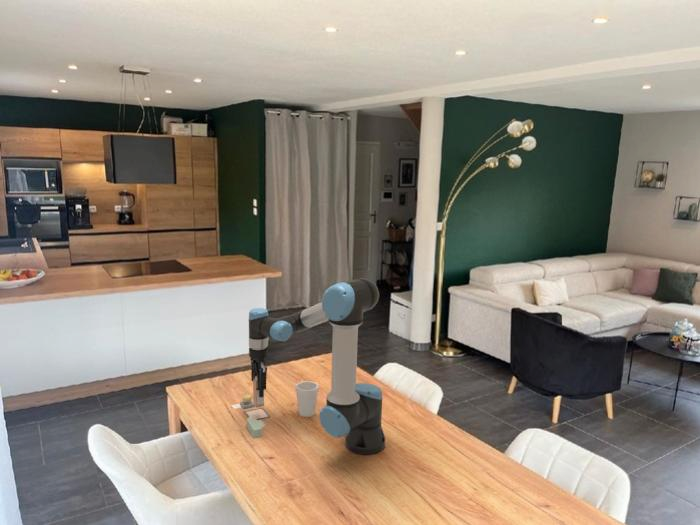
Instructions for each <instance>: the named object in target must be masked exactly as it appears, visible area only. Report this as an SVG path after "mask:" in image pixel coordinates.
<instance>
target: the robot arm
mask: <svg viewBox="0 0 700 525" xmlns="http://www.w3.org/2000/svg"><path fill="white" fill-rule="evenodd" d="M379 298H380V291H379V289H378V286H377V284H376V283H375V282H374V281H372V280H370V279H368V278H366V277H365V278H363V277H362V278H361V277H360V278H355V279H352V280H347V281H344V282H337V283H335V284H333V285H331V286H329V287H328V288H327V289H326V290H325V292H324V293H323V296H322V299H321V302H318V303H316V304H314V305H311V306H310V307H307V308H305V309H303V310H300V311H298V312H295V313H293V314H289V315H286V316H281V317H278V318H275V317H271V316H269V315H270V314H269V310H267V308H263V307H257V308H256V307H255V308H252V309H250V310H249V313H248V320H247V321H248V356H249V358H250V359H249V360H250V367H251V369H250V371H251V372H250V374H251V377H250V378H251V382H253V379H255V376H257V383H258V388H256V390H257V405H259V404H264V405H265V403H264V401H265V390H267V373H268V367H267V366H265V365H266V361H265V359H266V358H268V356H269V347H268V346H269V340H270V339H272V340H275V341H280V342H287V341H288V340H289V339H290V338H291V336H292V335H294V334H296V333H300V332H303V331H306V330H309V329H311V328H313V327H315V326H318V325H320V324H323V323H326V322H328V323H329V324H330V325H331V326H332V340H331V341H332V342H331V343H332V345H331V347H332V348H331V380H330V381H331V383H330V384H331V385H330V386H331V387H330V391H329V392H328V393H327V394H326V400H325V401H326V405H325V406H323V407H321V409H320V411H319V414H318V415H319V421H320V422H319V423H320V425H321V427H322V428H323V429H324V432H326V433H327V434H328V435H330V436H331V437H333V438H338V439H339V438H342V437H344V436H345V437H344V444H345V447H346V449H348V450H349V451H350V452H352V453H355V454H358V455H366V456H367V455H375V454H377V453H378V454H379V453H380V452H382V451H383V450H384V449H385V447H386V437H385V433H384V430H383V427H382V417H383V416H382V412H383V410H382V409H383V399H384V398H383V391H382V389H381V387H379V386H378V385H375V384H372V383H369V382H368V383H367V382H357V369H358V367H357V366H358V365H357V364H358V363H357V362H358V341H359V340H358V338H359V336H358V335H359V327H360V326H361V325H362V324H363V322H364V313H365V312H367V311H370V310H372V309H373V308H374V307H376V305H377V304H378V301H379Z"/></svg>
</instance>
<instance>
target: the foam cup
mask: <svg viewBox="0 0 700 525" xmlns="http://www.w3.org/2000/svg"><path fill="white" fill-rule="evenodd" d="M319 391H320V390H319V384H318V383H317V382H314V381H310V380H309V381H306V380H305V381H301V382H297V383H296V385H295V393H296V401H297V407H298V415H300V417H303V418H309V417H310V418H311V417H313V416H314V415H315V414H316V408H317V407H316V406H317V402H318V393H319Z"/></svg>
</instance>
